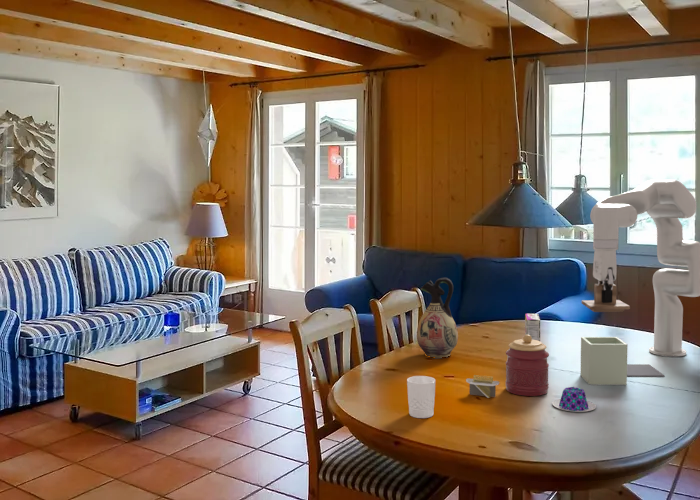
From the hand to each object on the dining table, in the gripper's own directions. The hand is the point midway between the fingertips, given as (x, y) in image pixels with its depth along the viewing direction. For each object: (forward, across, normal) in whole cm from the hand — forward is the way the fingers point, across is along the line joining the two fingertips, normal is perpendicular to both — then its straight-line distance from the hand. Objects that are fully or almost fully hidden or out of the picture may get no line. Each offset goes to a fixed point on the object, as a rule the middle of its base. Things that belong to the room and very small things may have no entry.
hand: (605, 300), depth 223 cm
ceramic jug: (+26, -30, -52) cm, 65 cm away
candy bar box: (+26, -23, -19) cm, 40 cm away
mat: (+26, -10, +13) cm, 31 cm away
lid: (+2, 0, 0) cm, 2 cm away
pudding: (+26, +28, -17) cm, 41 cm away
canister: (+26, +13, -27) cm, 40 cm away
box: (+26, +1, -1) cm, 26 cm away
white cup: (+25, +36, -61) cm, 75 cm away
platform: (+26, +19, -42) cm, 53 cm away
